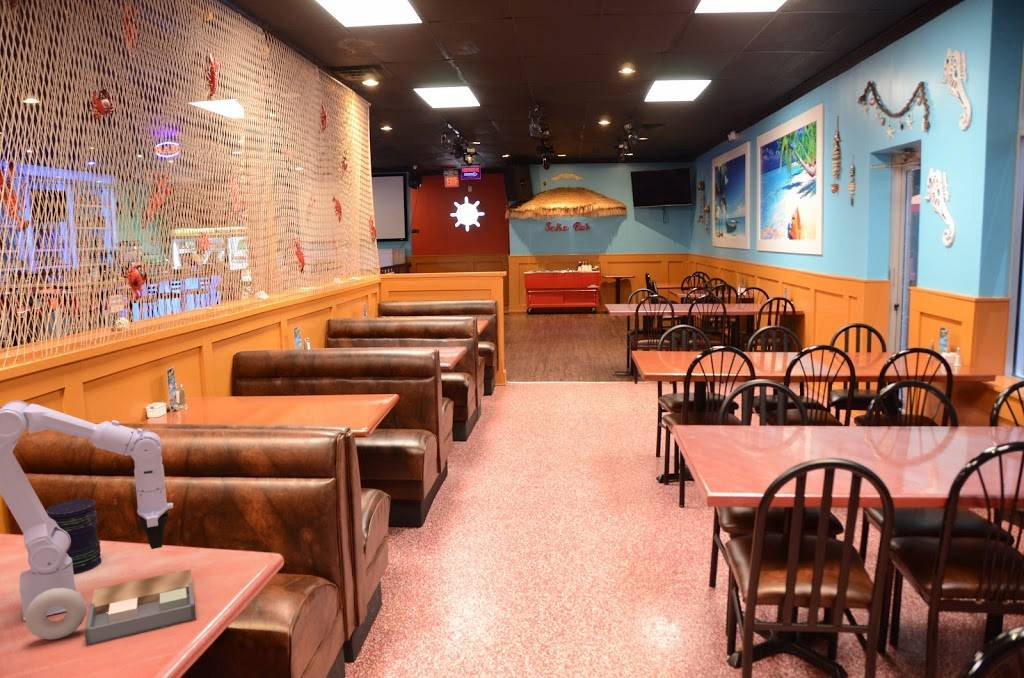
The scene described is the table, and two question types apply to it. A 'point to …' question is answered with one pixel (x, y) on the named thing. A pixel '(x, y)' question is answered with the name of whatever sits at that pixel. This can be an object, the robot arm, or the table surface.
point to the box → (137, 620)
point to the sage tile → (173, 599)
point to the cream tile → (123, 610)
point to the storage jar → (79, 532)
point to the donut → (60, 628)
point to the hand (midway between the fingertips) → (156, 547)
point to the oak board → (140, 590)
